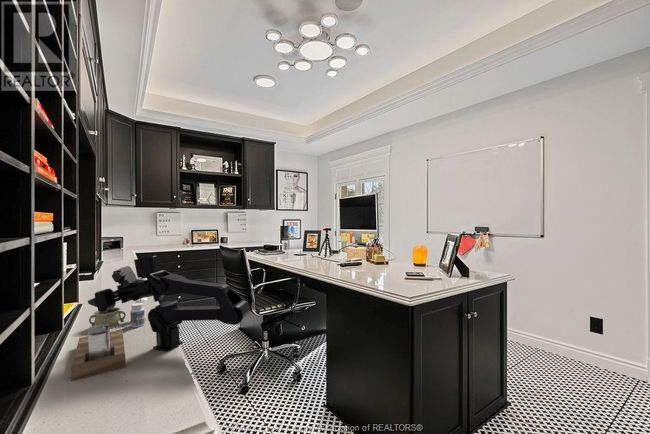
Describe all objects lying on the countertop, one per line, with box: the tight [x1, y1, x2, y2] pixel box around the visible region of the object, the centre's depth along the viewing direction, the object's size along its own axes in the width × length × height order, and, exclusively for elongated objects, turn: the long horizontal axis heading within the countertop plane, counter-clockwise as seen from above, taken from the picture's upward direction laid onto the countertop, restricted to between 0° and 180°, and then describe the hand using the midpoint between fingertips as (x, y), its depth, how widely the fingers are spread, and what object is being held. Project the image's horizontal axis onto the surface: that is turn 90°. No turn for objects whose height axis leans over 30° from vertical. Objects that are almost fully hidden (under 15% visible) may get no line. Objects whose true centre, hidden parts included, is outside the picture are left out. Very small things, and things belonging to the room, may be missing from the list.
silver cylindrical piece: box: [87, 324, 111, 361], centre depth 90 cm, size 5×5×11 cm
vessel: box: [88, 306, 127, 330], centre depth 122 cm, size 12×9×6 cm
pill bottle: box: [129, 303, 146, 328], centre depth 122 cm, size 5×5×8 cm
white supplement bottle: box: [134, 297, 149, 320], centre depth 130 cm, size 5×5×10 cm
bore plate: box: [70, 329, 126, 381], centre depth 96 cm, size 26×12×3 cm, turn 35°
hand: (100, 298), depth 105 cm, fingers open, 9 cm apart
